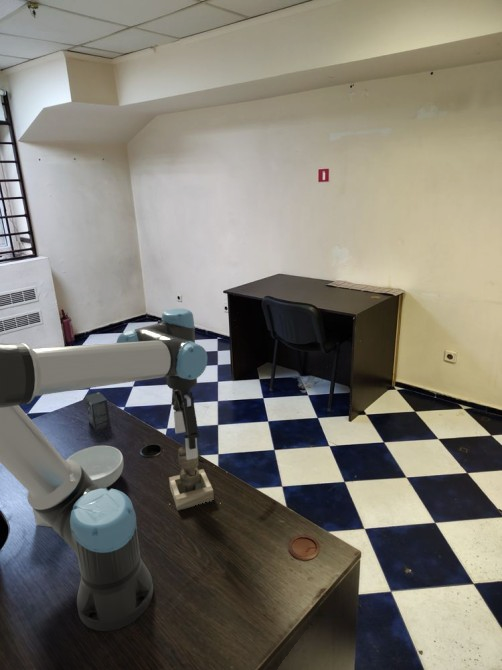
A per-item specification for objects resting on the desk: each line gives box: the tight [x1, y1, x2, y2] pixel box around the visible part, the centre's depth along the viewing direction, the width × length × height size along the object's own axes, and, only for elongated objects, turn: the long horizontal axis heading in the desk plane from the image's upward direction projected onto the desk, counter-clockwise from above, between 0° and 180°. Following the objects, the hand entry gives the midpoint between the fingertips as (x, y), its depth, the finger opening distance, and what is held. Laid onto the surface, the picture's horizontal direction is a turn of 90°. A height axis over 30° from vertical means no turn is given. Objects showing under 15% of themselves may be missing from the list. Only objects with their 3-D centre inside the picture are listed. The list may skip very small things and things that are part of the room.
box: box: [84, 391, 111, 431], centre depth 160 cm, size 8×6×11 cm
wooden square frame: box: [168, 468, 215, 511], centre depth 123 cm, size 10×10×4 cm
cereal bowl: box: [66, 445, 124, 489], centre depth 129 cm, size 17×17×7 cm
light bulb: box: [177, 445, 200, 492], centre depth 121 cm, size 6×6×15 cm
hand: (185, 444), depth 118 cm, fingers open, 13 cm apart
